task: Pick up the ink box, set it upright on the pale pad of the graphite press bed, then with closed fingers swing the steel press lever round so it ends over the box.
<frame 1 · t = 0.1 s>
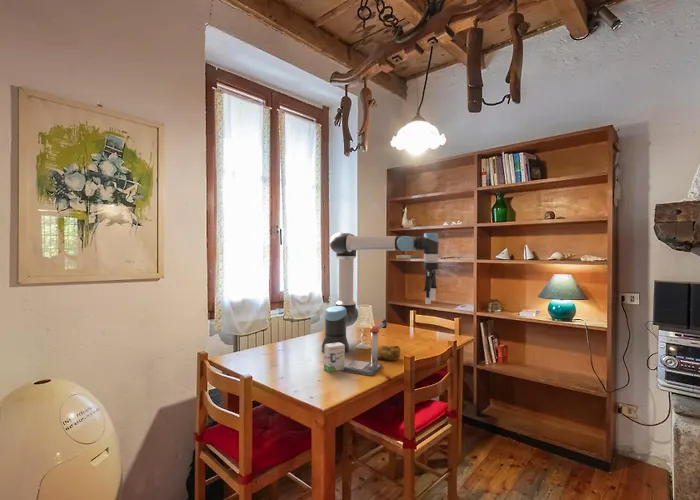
hand: (430, 302, 198), 28 cm above the table, fingers open, 13 cm apart
bread roll: (387, 359, 190), on the table
ink box: (334, 370, 173), on the table
lever: (379, 326, 178), point 19 cm above the table, hinge at 0.0°
press bed: (363, 369, 174), on the table
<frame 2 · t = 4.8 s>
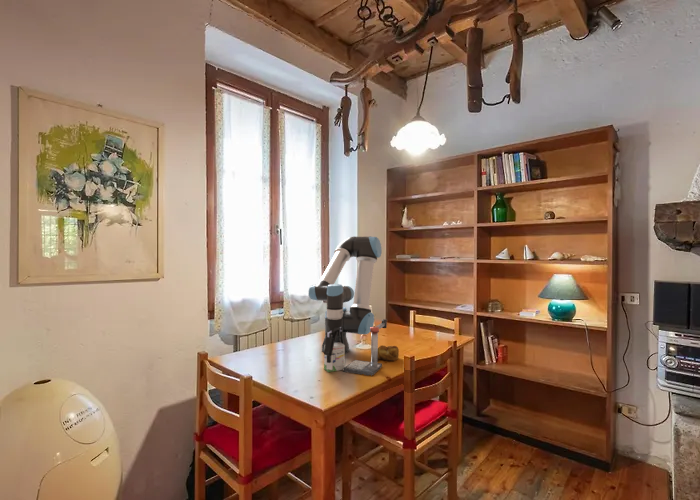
hand: (334, 366, 173), 2 cm above the table, fingers closed on ink box, 9 cm apart
ink box: (334, 369, 173), on the table, touching gripper
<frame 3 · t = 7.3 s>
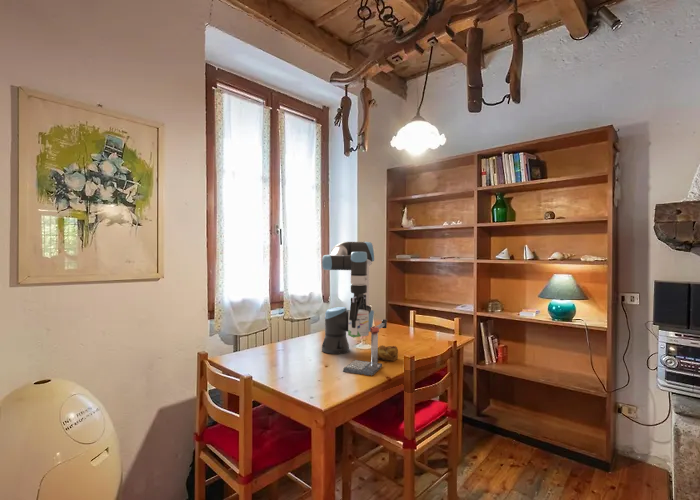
hand: (358, 332, 175), 17 cm above the table, fingers closed on ink box, 9 cm apart
ink box: (358, 336, 175), point 15 cm above the table, touching gripper
when the fingers open (4 cm above the table, at t = 10.1 s): ink box stays where it is, resting on press bed.
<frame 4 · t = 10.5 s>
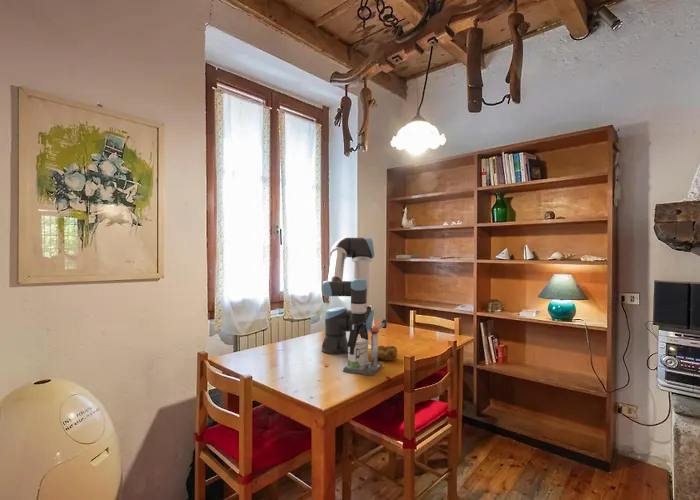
hand: (358, 357, 175), 5 cm above the table, fingers open, 13 cm apart
ink box: (358, 365, 175), point 1 cm above the table, touching press bed
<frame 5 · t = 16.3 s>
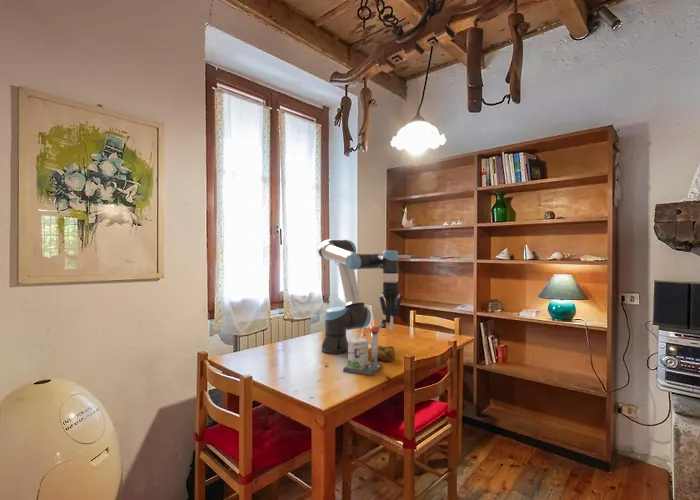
hand: (390, 329, 185), 16 cm above the table, fingers closed
lever: (379, 326, 178), point 19 cm above the table, hinge at 1.2°, touching gripper
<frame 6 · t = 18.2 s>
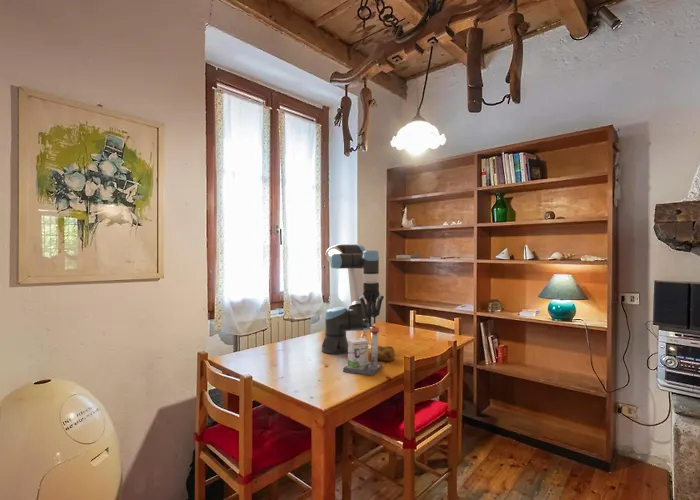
hand: (371, 330, 181), 16 cm above the table, fingers closed
lever: (370, 326, 178), point 19 cm above the table, hinge at 37.3°, touching gripper
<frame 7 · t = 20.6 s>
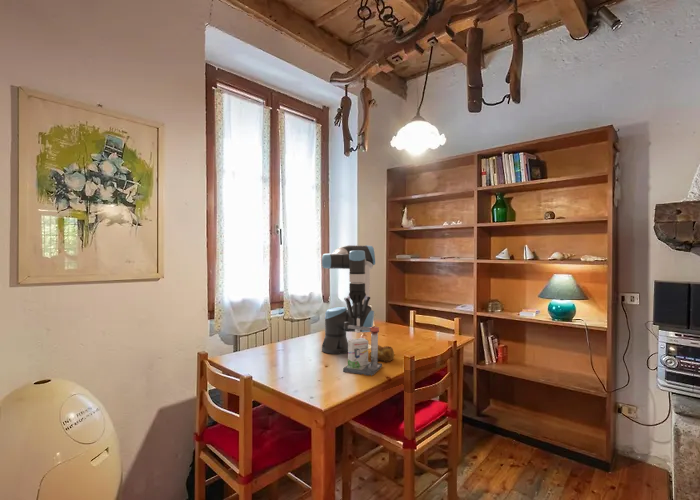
hand: (357, 332, 178), 16 cm above the table, fingers closed
lever: (361, 328, 174), point 19 cm above the table, hinge at 86.6°, touching gripper
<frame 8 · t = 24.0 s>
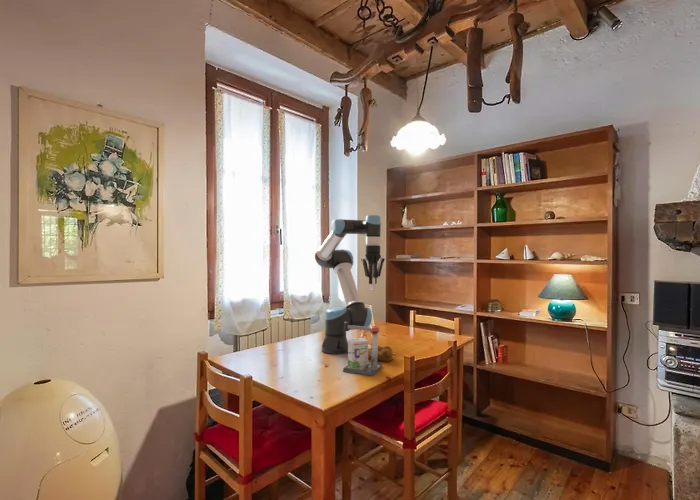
hand: (372, 290, 194), 34 cm above the table, fingers closed
lever: (361, 328, 174), point 19 cm above the table, hinge at 86.7°
at the end: ink box inside the target area on the press bed (0.3 cm from its centre), point 1.5 cm above the press bed's base; ink box tilted 0°; lever at +87° (first picture: +0°) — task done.
